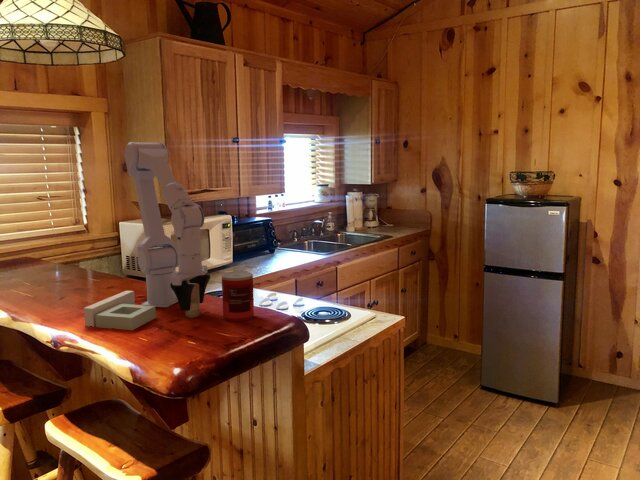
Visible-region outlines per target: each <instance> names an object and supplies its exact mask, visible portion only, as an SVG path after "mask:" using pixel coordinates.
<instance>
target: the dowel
mask: <svg viewBox="0 0 640 480" xmlns="http://www.w3.org/2000/svg"><path fill="white" fill-rule="evenodd" d="M188 284H194V287H193V290H192V294H191V306H190V310H189V311H184V312H185V313H184V314H185V317H186V318H190V319H194V317H195V318H198V316H199V317H200V315H201V306H200V304H201V303H200V300H199V284H196V283H190V282H188Z"/></svg>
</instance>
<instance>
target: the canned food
mask: <svg viewBox="0 0 640 480" xmlns="http://www.w3.org/2000/svg"><path fill="white" fill-rule="evenodd" d="M221 295H222V296H221V297H222V313H223V314H222V315H223V318H224V319H225V321H228V320H229V321H230V322H234V321H239V322H246V321H250V320H252V319H253V318H254V314H255V309H254V308H255V303H254V301H255V299H254V276H253V273H251V272H249V271H243V270H241V271H237V270H235V271H230V272H229V271H228V272H224V273H222V275H221ZM249 319H250V320H249ZM229 321H228V322H229Z"/></svg>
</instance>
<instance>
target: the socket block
mask: <svg viewBox="0 0 640 480" xmlns="http://www.w3.org/2000/svg"><path fill="white" fill-rule="evenodd" d="M156 315H157V314H156V307H155V306H146V305H141V304H135V305H131V304H119V305H117V306H114V307H112V308H110V309H108V310H105V311H103V312H101V313H99V314H96V315H95V321H96V326H95V328H101V329H102V328H103V329H112V328H113V329H114V328H115V330H124V331H125V330H128V331H134V330H135V329H137V328H139V327H141V326H144V325H145V324H147V323H148V322H151V321H153V320H154V319H156V318H157V316H156Z"/></svg>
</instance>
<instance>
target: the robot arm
mask: <svg viewBox="0 0 640 480" xmlns="http://www.w3.org/2000/svg"><path fill="white" fill-rule="evenodd" d="M124 161H125V165H126V170H127V173H128V175H129V176H130V177H132V178H133V183H134V187H135V191H136V197H137V203H138V208H139V212H140V217H141V222H142V226H143V232H144V237H145V238H144V239H143V240H142V241H141V242H140V243H139V245H138V246H137V248H136V249H137V263H138V267H139V269H140V271H142V272H143V274H145V282H146V295H147V296H146V297H147V298H146V299H147V301H144V302H143V303H141V304H140V305H146V306H155V308H169V307H171V306H172V305H174V304H176V303H178V306H179V307H180V311H182V312H185V311H189V310H190V306H191V294H192V290H193V287H194V284H189V283H196V284H199V300H200V304H203V303H204V299H205V293H206V289H207V285H208V283H209V281H210V280H211V275H210V274H208V265H205V264H203V263H202V243H201V228H202V227H203V226H204V224H205V213H204V210H203V207H202V205H200V204H197V202H194V201H192V199H191V197H190V195H189V194H188V192H187V190H186V188H185V187H184V185H183V184H182V183H181V182H177V181H176V178H175V177H174V173H173V171H172V170H171V167H170V165H169V163H168V162H169V150H168V147H167V145H166V144H165V143H164V142H162V141H159V142H134V141H129V142H128V143H127V145H126V146H125V149H124ZM155 178H156V179H157V181H158V182H159V184H160V186H161V187H162V191H161V196H162V197H163V200H164V201H165V203H166V205H167V206H168V209H169V210H170V213H171V218H170V221H171V225H172V227H173V230H174V236H175V237H176V242H177V243H176V244H175V240H174V239H172V238H170V237H169V236H167V235H166V233H165V229H164V225H163V220H162V215H161V211H160V206H159V200H158V197H157V191H156V186H155V181H154V179H155ZM176 245H177V246H176ZM176 268H178V271H176ZM188 281H189V282H188Z"/></svg>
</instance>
